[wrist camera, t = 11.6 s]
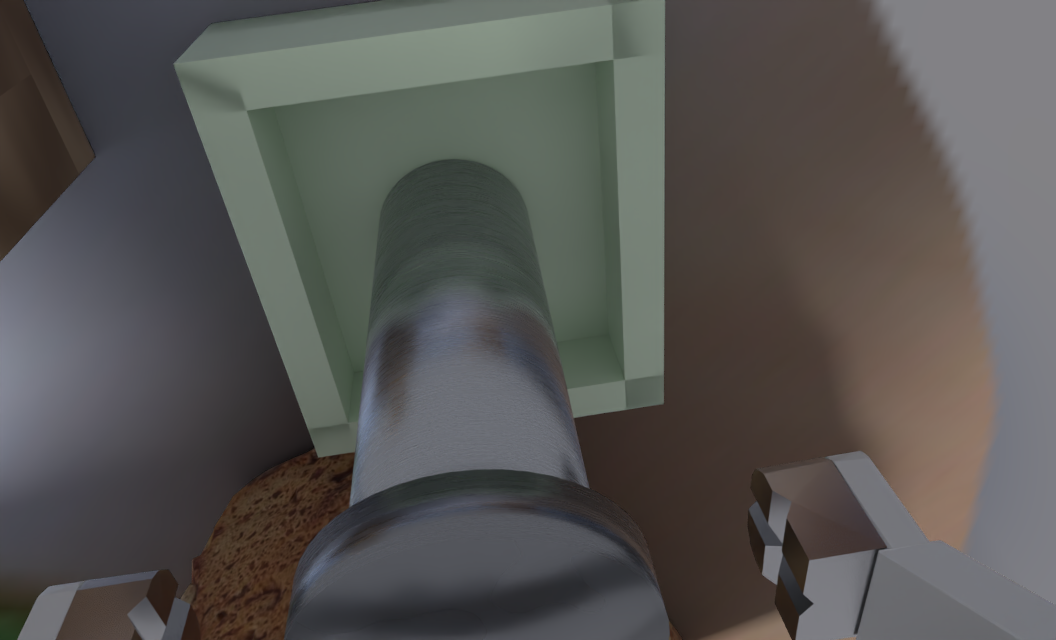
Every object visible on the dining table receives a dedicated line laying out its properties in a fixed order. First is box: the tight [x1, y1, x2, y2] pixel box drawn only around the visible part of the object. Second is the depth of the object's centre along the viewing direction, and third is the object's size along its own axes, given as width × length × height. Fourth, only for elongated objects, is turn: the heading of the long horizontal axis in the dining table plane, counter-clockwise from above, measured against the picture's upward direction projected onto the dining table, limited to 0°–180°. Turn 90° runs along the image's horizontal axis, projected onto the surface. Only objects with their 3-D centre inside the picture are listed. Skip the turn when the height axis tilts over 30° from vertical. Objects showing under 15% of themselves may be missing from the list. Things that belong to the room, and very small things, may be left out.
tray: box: [173, 0, 665, 458], centre depth 18 cm, size 10×9×3 cm
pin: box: [284, 159, 670, 640], centre depth 14 cm, size 5×5×11 cm
